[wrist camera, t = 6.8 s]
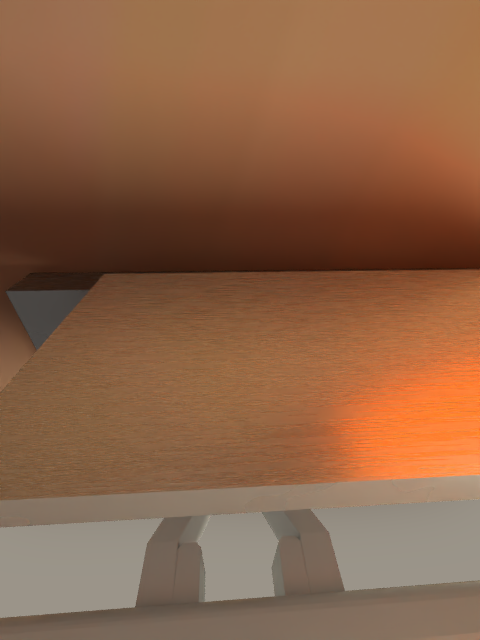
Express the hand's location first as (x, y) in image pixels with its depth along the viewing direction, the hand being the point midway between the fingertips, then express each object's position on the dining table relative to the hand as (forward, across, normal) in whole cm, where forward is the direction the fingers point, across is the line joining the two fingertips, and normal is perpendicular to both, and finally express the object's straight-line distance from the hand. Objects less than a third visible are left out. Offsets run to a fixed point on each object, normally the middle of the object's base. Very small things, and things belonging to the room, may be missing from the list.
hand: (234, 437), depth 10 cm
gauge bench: (+4, -4, 0) cm, 6 cm away
